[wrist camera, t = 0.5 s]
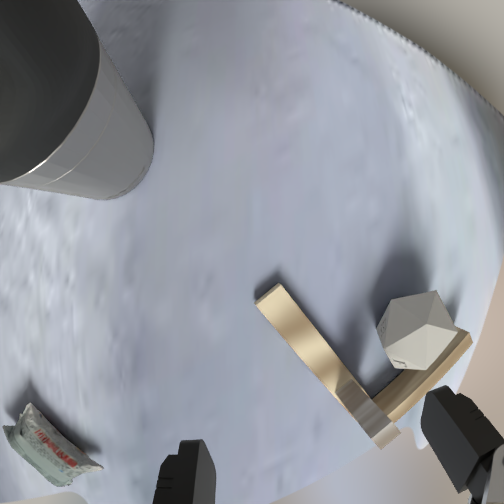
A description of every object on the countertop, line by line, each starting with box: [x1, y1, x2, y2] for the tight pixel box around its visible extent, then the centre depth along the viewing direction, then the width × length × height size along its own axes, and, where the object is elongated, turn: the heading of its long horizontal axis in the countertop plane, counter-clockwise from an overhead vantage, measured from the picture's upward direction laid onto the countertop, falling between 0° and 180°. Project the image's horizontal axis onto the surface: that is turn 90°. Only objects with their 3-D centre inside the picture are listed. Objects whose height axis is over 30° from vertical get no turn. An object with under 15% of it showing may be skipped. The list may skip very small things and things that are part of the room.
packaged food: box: [3, 403, 104, 487], centre depth 27 cm, size 9×12×5 cm
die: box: [376, 290, 458, 370], centre depth 30 cm, size 8×9×10 cm
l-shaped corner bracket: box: [254, 283, 473, 449], centre depth 28 cm, size 22×17×10 cm
